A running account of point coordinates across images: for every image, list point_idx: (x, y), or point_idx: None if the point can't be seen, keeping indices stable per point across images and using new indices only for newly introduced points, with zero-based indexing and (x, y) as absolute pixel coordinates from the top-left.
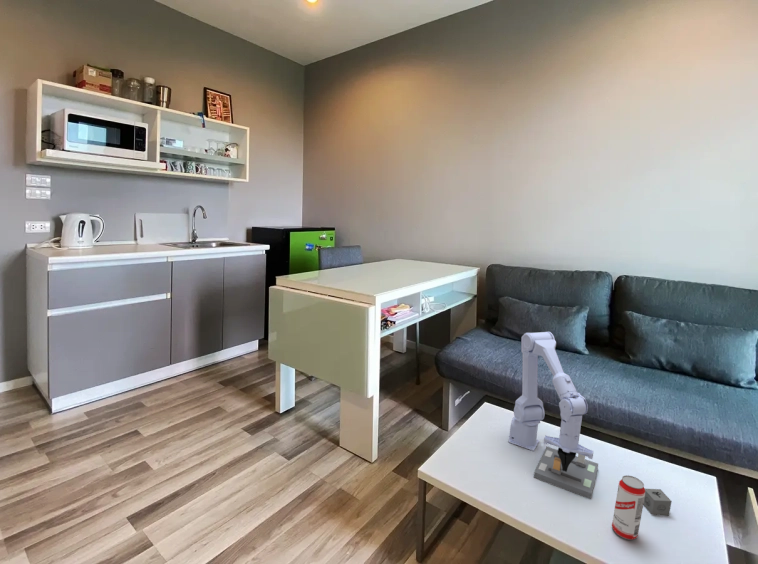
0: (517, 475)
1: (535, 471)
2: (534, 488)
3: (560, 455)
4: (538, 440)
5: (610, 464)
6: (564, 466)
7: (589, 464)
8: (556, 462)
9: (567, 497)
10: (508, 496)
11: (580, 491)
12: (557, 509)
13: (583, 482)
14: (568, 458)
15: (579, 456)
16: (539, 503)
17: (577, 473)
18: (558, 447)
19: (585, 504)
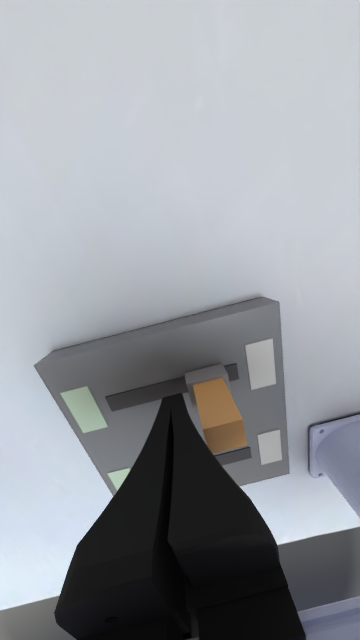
0: (321, 252)
1: (276, 310)
2: (234, 227)
3: (218, 493)
4: (313, 476)
5: None
6: (172, 415)
7: None
8: (222, 411)
9: (111, 289)
10: (316, 20)
11: (81, 349)
12: (90, 161)
13: (97, 402)
14: (137, 509)
15: None
16: (170, 125)
17: (142, 430)
18: (299, 619)
19: (43, 306)
